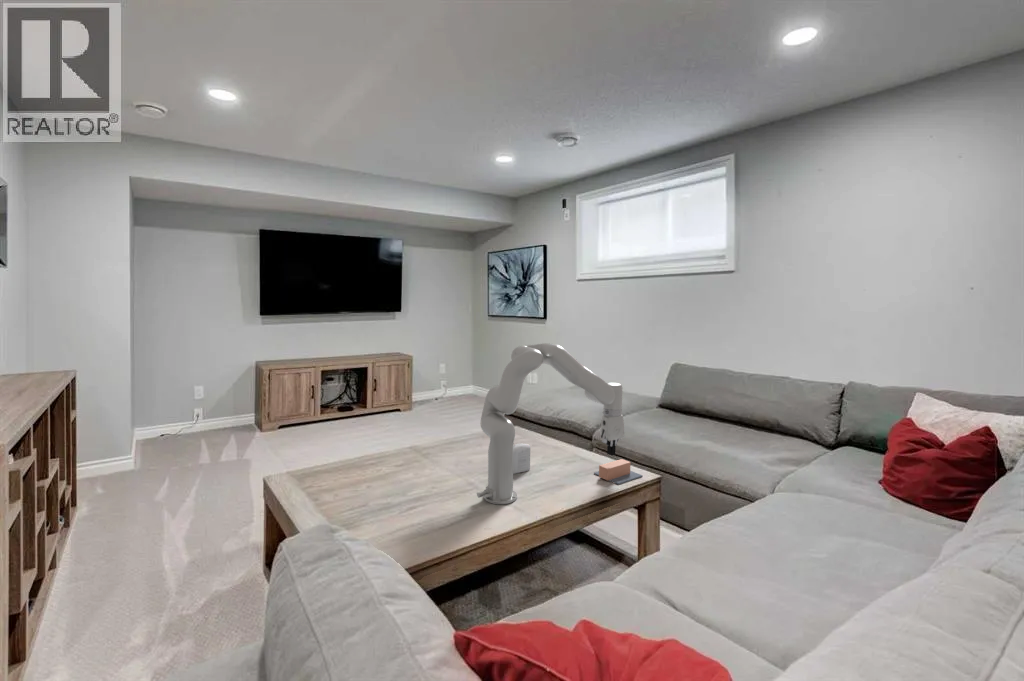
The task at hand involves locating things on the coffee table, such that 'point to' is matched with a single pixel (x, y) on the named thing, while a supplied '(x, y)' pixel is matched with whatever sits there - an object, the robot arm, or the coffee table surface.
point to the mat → (624, 477)
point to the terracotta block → (614, 469)
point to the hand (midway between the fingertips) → (611, 454)
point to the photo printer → (521, 458)
